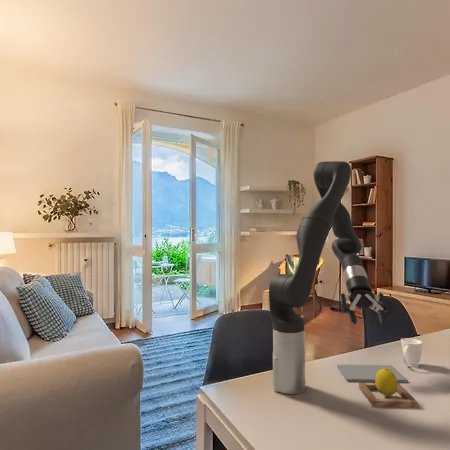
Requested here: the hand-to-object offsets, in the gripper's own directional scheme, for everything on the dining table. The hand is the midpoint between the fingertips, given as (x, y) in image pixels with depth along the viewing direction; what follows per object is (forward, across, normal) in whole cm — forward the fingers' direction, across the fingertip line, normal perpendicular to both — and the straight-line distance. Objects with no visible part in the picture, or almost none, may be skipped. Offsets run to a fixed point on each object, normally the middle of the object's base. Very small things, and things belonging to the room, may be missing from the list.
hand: (369, 322), depth 112 cm
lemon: (+22, 0, +3) cm, 22 cm away
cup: (+5, +17, +20) cm, 27 cm away
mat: (+10, +1, +14) cm, 17 cm away
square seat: (+21, 0, +3) cm, 22 cm away
